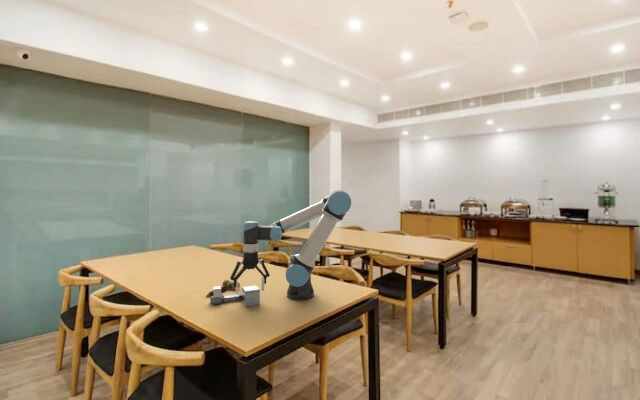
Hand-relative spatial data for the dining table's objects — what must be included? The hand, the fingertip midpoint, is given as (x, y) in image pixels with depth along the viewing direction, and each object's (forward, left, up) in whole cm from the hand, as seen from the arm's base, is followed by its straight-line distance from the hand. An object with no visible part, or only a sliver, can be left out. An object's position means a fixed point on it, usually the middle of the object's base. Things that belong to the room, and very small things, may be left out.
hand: (250, 291), depth 168 cm
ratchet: (+8, -8, -6) cm, 13 cm away
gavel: (+12, -24, -7) cm, 28 cm away
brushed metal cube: (0, 0, -6) cm, 6 cm away
